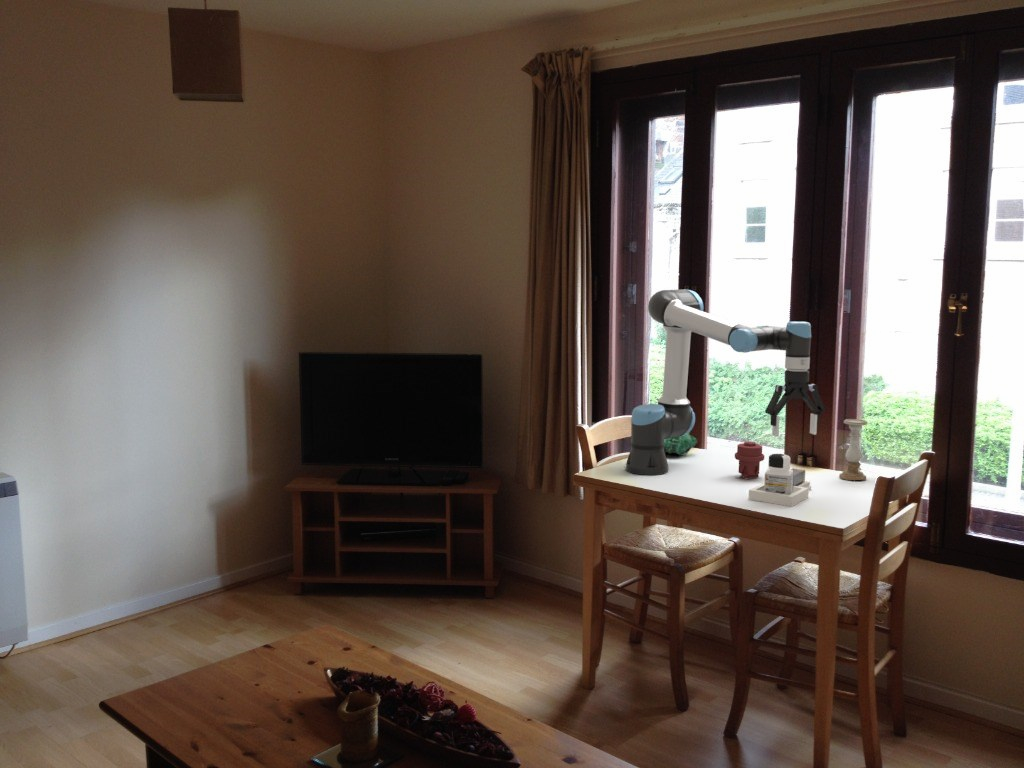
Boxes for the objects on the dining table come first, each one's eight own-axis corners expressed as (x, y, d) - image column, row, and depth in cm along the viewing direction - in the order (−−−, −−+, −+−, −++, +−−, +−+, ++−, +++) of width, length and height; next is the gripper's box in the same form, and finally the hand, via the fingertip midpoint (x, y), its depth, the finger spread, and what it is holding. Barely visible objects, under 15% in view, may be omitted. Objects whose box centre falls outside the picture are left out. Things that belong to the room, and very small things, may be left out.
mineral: (654, 449, 357) (655, 424, 356) (694, 449, 356) (695, 425, 354) (657, 458, 339) (658, 433, 338) (699, 459, 337) (700, 434, 336)
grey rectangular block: (781, 488, 288) (782, 473, 287) (792, 482, 296) (793, 468, 295) (793, 490, 286) (794, 475, 285) (804, 484, 293) (805, 469, 293)
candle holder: (871, 480, 304) (874, 422, 302) (847, 481, 303) (850, 423, 300) (857, 475, 313) (860, 418, 310) (834, 475, 311) (837, 418, 309)
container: (763, 496, 279) (765, 456, 278) (767, 490, 286) (768, 451, 285) (789, 499, 276) (790, 458, 274) (792, 493, 283) (793, 453, 281)
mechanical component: (731, 473, 315) (760, 474, 314) (736, 480, 305) (765, 481, 304) (733, 439, 313) (762, 440, 312) (737, 445, 303) (767, 445, 302)
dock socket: (748, 499, 280) (748, 489, 280) (778, 484, 299) (779, 475, 299) (791, 506, 271) (792, 496, 271) (820, 490, 291) (820, 481, 291)
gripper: (767, 372, 278) (765, 438, 281) (838, 370, 284) (835, 435, 287) (756, 369, 285) (753, 434, 288) (824, 367, 291) (821, 431, 294)
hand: (794, 435), depth 287 cm, fingers open, 13 cm apart
